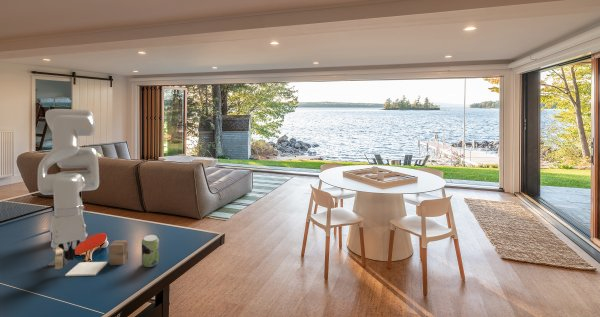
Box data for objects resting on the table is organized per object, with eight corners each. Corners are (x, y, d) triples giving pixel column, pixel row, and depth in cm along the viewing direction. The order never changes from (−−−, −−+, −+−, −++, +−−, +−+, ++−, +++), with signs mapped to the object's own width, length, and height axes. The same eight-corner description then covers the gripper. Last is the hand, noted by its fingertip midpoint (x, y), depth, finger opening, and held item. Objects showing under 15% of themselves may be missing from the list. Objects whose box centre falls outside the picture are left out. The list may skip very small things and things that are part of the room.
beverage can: (155, 260, 133) (154, 231, 131) (162, 266, 128) (161, 236, 126) (138, 264, 128) (138, 235, 127) (145, 271, 123) (144, 240, 122)
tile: (79, 263, 127) (79, 262, 127) (107, 263, 128) (107, 261, 128) (65, 276, 117) (65, 274, 117) (95, 275, 119) (95, 273, 118)
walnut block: (115, 259, 132) (114, 240, 131) (128, 259, 133) (127, 240, 132) (109, 264, 127) (109, 245, 126) (123, 264, 128) (122, 245, 127)
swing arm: (54, 259, 128) (53, 243, 127) (66, 257, 130) (65, 242, 130) (52, 281, 112) (51, 263, 111) (66, 278, 114) (65, 260, 113)
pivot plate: (56, 259, 130) (56, 258, 130) (72, 258, 131) (72, 258, 131) (47, 265, 124) (47, 265, 124) (64, 265, 125) (64, 264, 125)
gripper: (87, 205, 126) (89, 250, 129) (39, 213, 115) (42, 262, 117) (94, 209, 122) (96, 256, 124) (44, 217, 110) (47, 269, 113)
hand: (69, 259), depth 121 cm, fingers closed
